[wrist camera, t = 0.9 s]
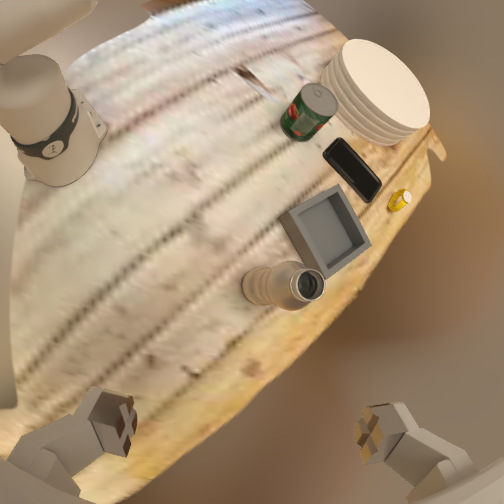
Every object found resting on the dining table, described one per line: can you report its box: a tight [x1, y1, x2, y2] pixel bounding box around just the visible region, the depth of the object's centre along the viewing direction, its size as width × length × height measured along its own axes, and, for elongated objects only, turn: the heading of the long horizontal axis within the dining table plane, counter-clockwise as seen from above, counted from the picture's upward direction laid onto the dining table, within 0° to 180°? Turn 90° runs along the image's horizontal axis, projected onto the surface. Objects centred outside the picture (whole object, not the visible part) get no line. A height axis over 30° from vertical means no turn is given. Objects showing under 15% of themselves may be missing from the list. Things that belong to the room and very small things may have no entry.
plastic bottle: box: [242, 261, 325, 311], centre depth 41 cm, size 6×7×20 cm
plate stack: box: [321, 39, 430, 146], centre depth 59 cm, size 28×28×12 cm
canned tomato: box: [280, 83, 339, 142], centre depth 51 cm, size 8×8×11 cm
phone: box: [323, 137, 382, 203], centre depth 59 cm, size 8×1×15 cm
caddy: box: [278, 184, 372, 280], centre depth 52 cm, size 13×12×5 cm
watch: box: [388, 189, 412, 212], centre depth 59 cm, size 6×3×6 cm, turn 145°
